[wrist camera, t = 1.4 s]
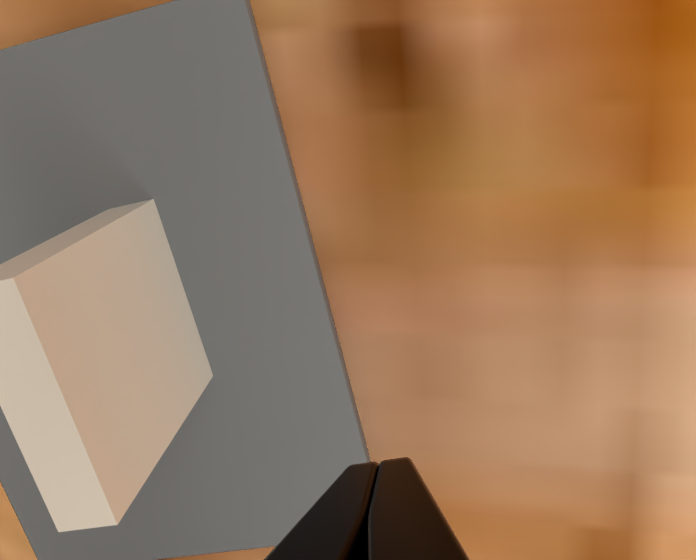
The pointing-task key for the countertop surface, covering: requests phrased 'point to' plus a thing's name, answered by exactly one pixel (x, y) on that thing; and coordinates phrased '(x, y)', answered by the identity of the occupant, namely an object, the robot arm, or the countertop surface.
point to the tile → (97, 361)
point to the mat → (186, 267)
